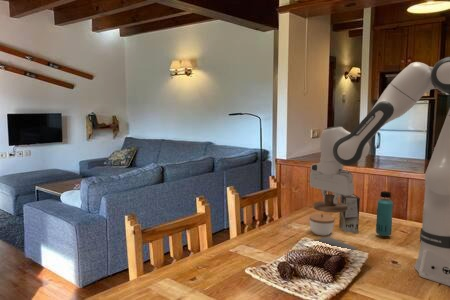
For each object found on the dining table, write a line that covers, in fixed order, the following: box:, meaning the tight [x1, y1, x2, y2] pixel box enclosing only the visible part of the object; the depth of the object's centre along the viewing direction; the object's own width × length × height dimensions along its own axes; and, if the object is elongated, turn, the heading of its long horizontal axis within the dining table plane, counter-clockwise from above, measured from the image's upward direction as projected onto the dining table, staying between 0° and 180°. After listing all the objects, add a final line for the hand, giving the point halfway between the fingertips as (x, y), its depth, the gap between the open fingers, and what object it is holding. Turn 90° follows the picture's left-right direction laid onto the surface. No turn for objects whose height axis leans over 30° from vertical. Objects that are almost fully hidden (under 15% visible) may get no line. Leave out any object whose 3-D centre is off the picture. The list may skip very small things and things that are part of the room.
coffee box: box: [338, 193, 361, 234], centre depth 174 cm, size 9×6×16 cm
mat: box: [306, 236, 359, 251], centre depth 153 cm, size 16×16×1 cm
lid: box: [313, 193, 348, 213], centre depth 151 cm, size 13×13×5 cm
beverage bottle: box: [375, 190, 394, 237], centre depth 165 cm, size 6×7×20 cm
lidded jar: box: [308, 213, 335, 237], centre depth 168 cm, size 11×11×9 cm
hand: (330, 202), depth 151 cm, fingers closed on lid, 3 cm apart
